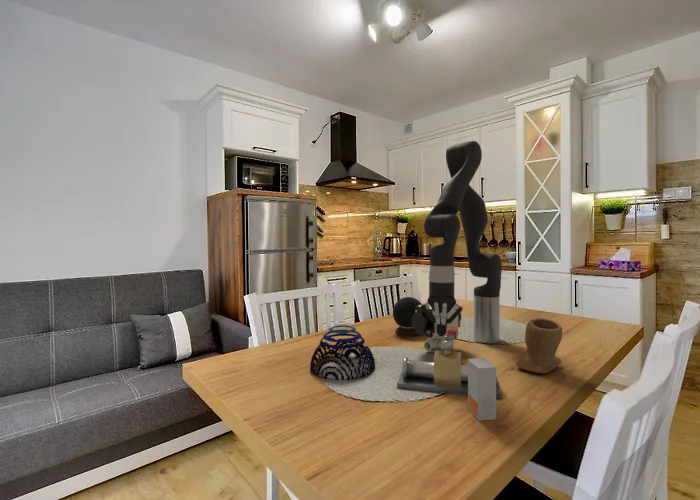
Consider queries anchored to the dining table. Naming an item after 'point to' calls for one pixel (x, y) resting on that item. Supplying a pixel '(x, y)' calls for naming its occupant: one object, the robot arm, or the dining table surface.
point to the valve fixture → (438, 374)
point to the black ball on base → (405, 316)
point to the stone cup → (541, 346)
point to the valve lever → (450, 338)
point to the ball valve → (431, 328)
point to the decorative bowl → (336, 347)
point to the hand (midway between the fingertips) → (441, 335)
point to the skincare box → (482, 389)
